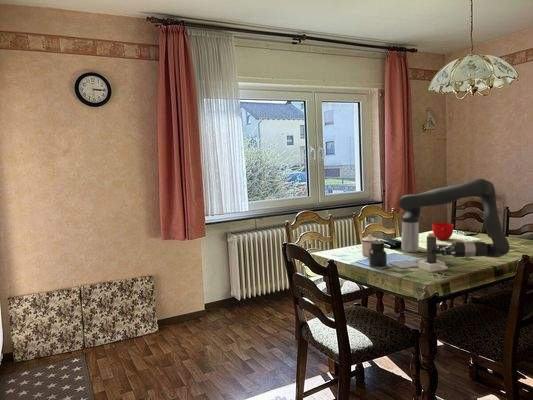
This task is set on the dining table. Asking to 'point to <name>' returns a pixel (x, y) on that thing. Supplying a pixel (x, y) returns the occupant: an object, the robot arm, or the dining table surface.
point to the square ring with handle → (431, 265)
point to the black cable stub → (431, 245)
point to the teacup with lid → (367, 244)
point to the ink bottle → (377, 254)
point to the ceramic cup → (442, 230)
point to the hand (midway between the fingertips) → (429, 249)
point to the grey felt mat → (404, 264)
